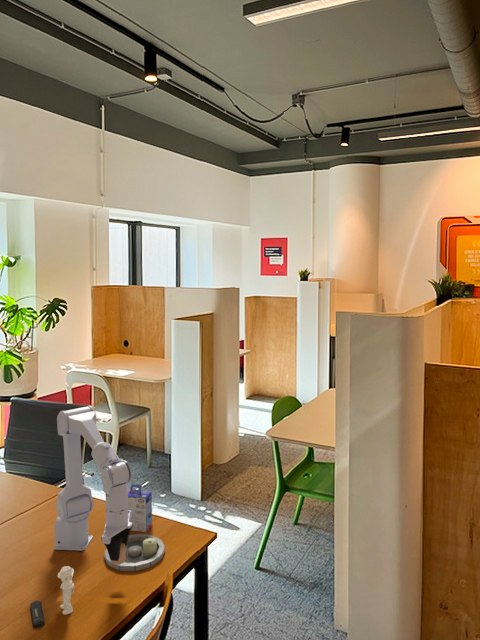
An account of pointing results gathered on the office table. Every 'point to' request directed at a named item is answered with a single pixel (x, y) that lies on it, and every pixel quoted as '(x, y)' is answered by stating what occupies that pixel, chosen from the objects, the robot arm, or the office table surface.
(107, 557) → the tray
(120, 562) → the bead terracotta
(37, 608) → the usb stick
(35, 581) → the office table surface
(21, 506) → the office table surface
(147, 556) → the bead olive
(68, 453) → the robot arm
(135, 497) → the ink cartridge box
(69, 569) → the hat wearing toy figure
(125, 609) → the office table surface
